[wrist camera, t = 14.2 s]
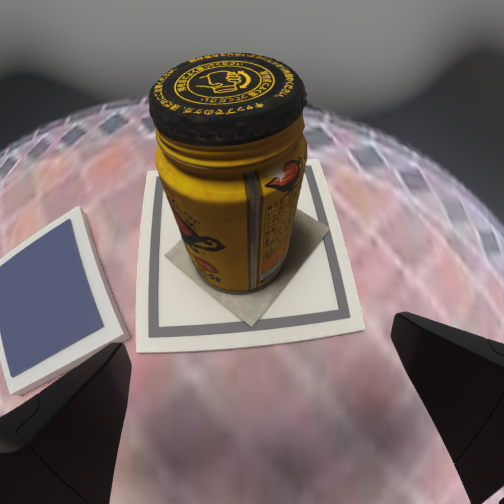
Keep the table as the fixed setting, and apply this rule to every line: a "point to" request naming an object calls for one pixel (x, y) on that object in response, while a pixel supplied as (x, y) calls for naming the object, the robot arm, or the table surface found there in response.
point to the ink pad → (54, 304)
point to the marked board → (221, 318)
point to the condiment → (235, 175)
